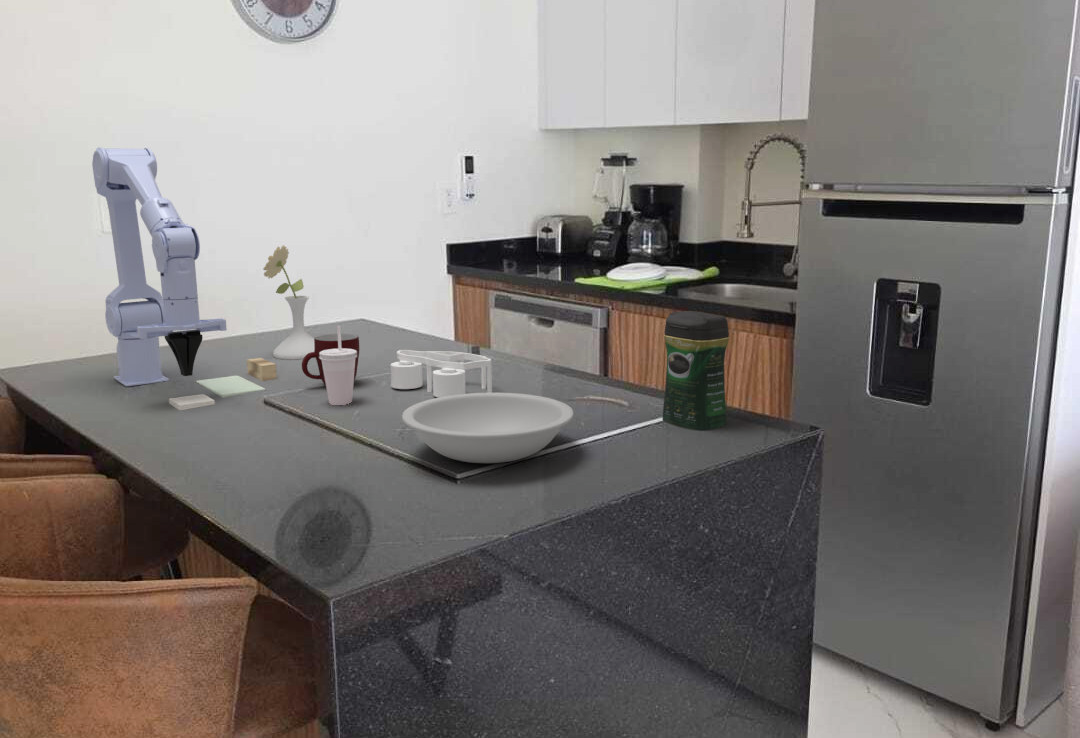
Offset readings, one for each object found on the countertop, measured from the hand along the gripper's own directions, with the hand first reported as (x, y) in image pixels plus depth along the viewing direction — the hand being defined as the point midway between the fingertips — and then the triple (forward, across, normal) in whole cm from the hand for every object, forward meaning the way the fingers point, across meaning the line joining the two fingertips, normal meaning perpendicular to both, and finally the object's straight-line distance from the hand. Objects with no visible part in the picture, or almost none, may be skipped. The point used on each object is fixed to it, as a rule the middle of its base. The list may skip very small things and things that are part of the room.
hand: (186, 374), depth 164 cm
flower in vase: (+5, +30, +24) cm, 39 cm away
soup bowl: (+5, +24, -59) cm, 64 cm away
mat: (+5, +10, +6) cm, 12 cm away
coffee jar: (+5, +57, -67) cm, 88 cm away
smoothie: (+5, +20, -19) cm, 28 cm away
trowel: (+5, +17, +10) cm, 20 cm away
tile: (+5, 0, +1) cm, 5 cm away
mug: (+5, +24, -7) cm, 26 cm away
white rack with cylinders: (+5, +38, -22) cm, 44 cm away
